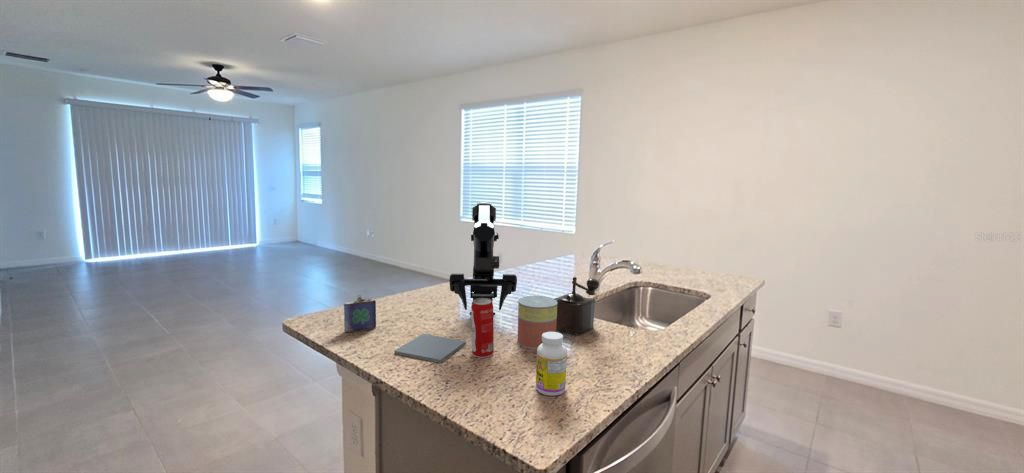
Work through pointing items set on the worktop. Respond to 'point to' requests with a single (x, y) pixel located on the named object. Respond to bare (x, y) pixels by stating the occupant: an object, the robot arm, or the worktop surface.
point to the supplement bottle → (551, 364)
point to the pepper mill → (576, 309)
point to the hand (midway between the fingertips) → (482, 309)
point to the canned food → (535, 319)
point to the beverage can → (482, 327)
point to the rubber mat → (430, 348)
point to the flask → (359, 315)
